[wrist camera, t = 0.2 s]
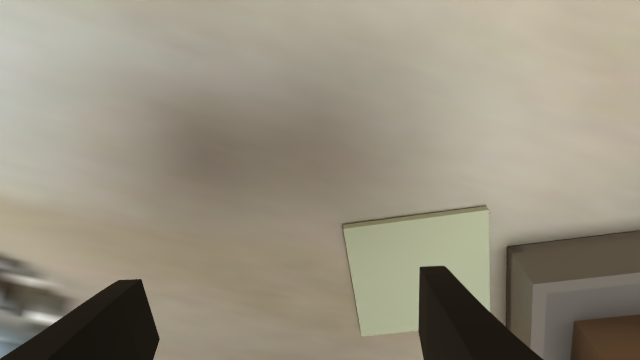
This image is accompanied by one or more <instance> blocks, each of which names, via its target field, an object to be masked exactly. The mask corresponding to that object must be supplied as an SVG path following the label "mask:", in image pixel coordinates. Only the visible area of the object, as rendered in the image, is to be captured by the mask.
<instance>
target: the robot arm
mask: <svg viewBox="0 0 640 360" xmlns="http://www.w3.org/2000/svg"><path fill="white" fill-rule="evenodd" d="M418 331H419V336H420V341H421V347H422V352H423V357H424V360H544V359H542V358H541V357H540V356H538V355H537V354H536V353H535V352H534V351H533V350H531V349H530V348H529V347H528V346H527V345H526V344H524V343H523V342H522V341H521V340H520V339H519V338H517V337H516V336H515V335H514V334H513V333H512V332H511V331H510V330H508V329H507V328H506V327H505V326H504V325H503V324H502V323H501V322H500V321H499V320H498V319H497V318H496V317H495V316H494V315H493V314H492V313H490V312H489V311H488V310H487V309H486V308H485V307H484V306H483V305H482V304H481V303H480V302H479V301H478V300H477V299H476V298H475V297H474V296H473V295H472V294H471V293H470V292H469V291H468V290H467V288H466V287H465V286H464V285H463V284H462V283H461V282H460V281H459V280H458V279H457V278H456V277H455V276H454V275H453V274H452V273H451V271H450V270H449V269H448V268H446V267H445V266H424V267H420V273H419V327H418ZM159 340H160V339H159V336H158V332H157V329H156V326H155V323H154V319H153V316H152V313H151V309H150V306H149V303H148V300H147V296H146V293H145V290H144V287H143V283H142V280H141V279H135V280H118V281H117V282H115V283H113V284H112V285H110V286H108V287H107V288H105V289H104V290H102V291H101V292H99V293H98V294H96V295H95V296H93V297H92V298H90V299H89V300H87V301H86V302H84V303H83V304H81V305H80V306H78V307H77V308H76V309H74V310H73V311H71V312H70V313H68V314H67V315H65V316H64V317H63V318H61V319H60V320H58V321H57V322H55V323H54V324H52V325H51V326H49V327H48V328H47V329H45V330H44V331H42V332H41V333H39V334H38V335H36V336H35V337H33V338H32V339H30V340H29V341H27V342H25V343H24V344H22V345H21V346H19V347H18V348H16V349H15V350H13V351H12V352H10V353H8V354H7V355H5V356H4V357H2V358H1V359H0V360H153V358H154V355H155V352H156V349H157V346H158V343H159Z"/></svg>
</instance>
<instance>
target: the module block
mask: <svg viewBox="0 0 640 360" xmlns="http://www.w3.org/2000/svg"><path fill="white" fill-rule="evenodd" d="M570 360H640V314H638V315H628V316H619V317H609V318H599V319H589V320H579V321H574V325H573V336H572V347H571V358H570Z"/></svg>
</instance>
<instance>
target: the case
mask: <svg viewBox="0 0 640 360" xmlns="http://www.w3.org/2000/svg"><path fill="white" fill-rule="evenodd" d="M638 314H640V231H634V232H626V233H618V234H609V235H601V236H593V237H585V238H576V239H568V240H560V241H551V242H543V243H535V244H527V245H518V246H510V247H507V299H506V328H507V329H508V330H510V331H511V332H512V333H513V334H514V335H515V336H516V337H517V338H519V339H520V340H521V341H522V342H523V343H524V344H526V345H527V346H528V347H529V348H530V349H531V350H533V351H534V352H535V353H536V354H537V355H538V356H540V357H541V358H542V359H544V360H570V358H571V347H572V336H573V325H574V321H579V320H589V319H599V318H609V317H619V316H628V315H638Z"/></svg>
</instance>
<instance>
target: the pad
mask: <svg viewBox="0 0 640 360" xmlns="http://www.w3.org/2000/svg"><path fill="white" fill-rule="evenodd" d="M343 230H344V236H345V242H346V248H347V254H348V260H349V265H350V271H351V277H352V283H353V289H354V295H355V300H356V306H357V312H358V318H359V324H360V330H361V335H362V336H371V335H381V334H391V333H400V332H410V331H418V327H419V273H420V267H424V266H445V267H446V268H448V269H449V270H450V271H451V273H452V274H453V275H454V276H455V277H456V278H457V279H458V280H459V281H460V282H461V283H462V284H463V285H464V286H465V287H466V288H467V290H468V291H469V292H470V293H471V294H472V295H473V296H474V297H475V298H476V299H477V300H478V301H479V302H480V303H481V304H482V305H483V306H484V307H485V308H486V309H487V310H488V311H489V312H490V262H489V209H488V208H487V207H486V206H482V207H475V208H467V209H459V210H452V211H444V212H437V213H429V214H421V215H414V216H406V217H399V218H391V219H383V220H376V221H368V222H361V223H353V224H345V225H343Z"/></svg>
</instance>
